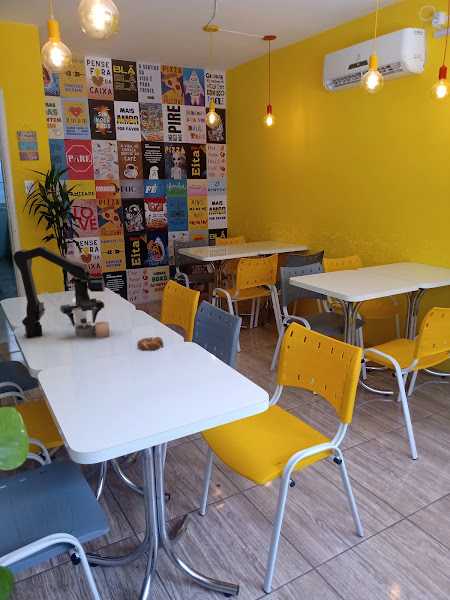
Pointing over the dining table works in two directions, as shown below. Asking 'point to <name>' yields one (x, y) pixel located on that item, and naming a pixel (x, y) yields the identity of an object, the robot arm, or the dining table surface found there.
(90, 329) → the gray octagonal container
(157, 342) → the pretzel
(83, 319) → the plunger
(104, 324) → the peach rounded capsule
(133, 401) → the dining table surface
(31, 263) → the robot arm
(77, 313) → the soft serve ice cream cone
